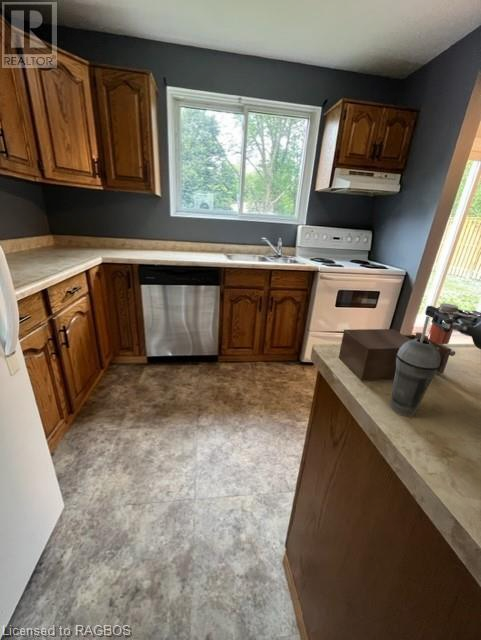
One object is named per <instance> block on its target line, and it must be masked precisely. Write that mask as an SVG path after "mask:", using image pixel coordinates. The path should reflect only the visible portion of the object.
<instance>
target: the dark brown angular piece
mask: <svg viewBox="0 0 481 640" xmlns="http://www.w3.org/2000/svg"><path fill="white" fill-rule="evenodd" d="M401 334H402V333H401ZM402 335H404V336H406V337H407V338H409V339H411V340H414V339H421V336H422V332H416V333H415V334H413V333H410V334H408V333H405V334H402ZM424 340H426V341H428V342H430V343H432V344H433V345H434V346H435V347H436V348H437V349H438V351H439V353H440V357H441V361H440V368H439V369H438V370H437V372H436V373H437V374H443V373H445V369H446V366H447V363H448V361H449V359H450V358H449V357H454V356H456V351H455V350H454V349H452V348H450V347H448V346H447V345H446V344H439V343H435V342H432V341H430V340H429V339H428V336H427V335H426V334H425V336H424Z"/></svg>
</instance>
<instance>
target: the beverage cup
mask: <svg viewBox="0 0 481 640" xmlns="http://www.w3.org/2000/svg"><path fill="white" fill-rule="evenodd" d="M429 320H430V316H427V315H425V320H424V324H423V328H422V332H421V333H422V336H421V339H414V340H410V341H408V342H406V343H404V344H403V345H402V346H401V348H400V349H399V351H398V353H397V354H396V357H397V358H396V371H395V377H394V379H393V383H392V388H391V389H392V390H391V395H390V404H389V407H390V409H391V411H393V412H394V413H396V414H397V415H400V416H403V417H407V418H408V417H409V418H410V417H413V416H415V415H416V412H417V411H418V409H419V408H420V405H421V402H422V400H423V399H424V396H425V394H426V392H427V390H428V388H429V386H430V383H431V381H432V379H433V378H434V377H435V376H436V374H437V373H438V372H437V370H438V369H439V368H440V361H441V357H440V353H439V351H438V349H437V348H436V347H435V346H434V345H433V344H432V343H430V342H428V341H426V340H424V336H425V335H426V332H427V329H428V328H427V327H428V325H429Z"/></svg>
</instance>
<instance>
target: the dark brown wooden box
mask: <svg viewBox="0 0 481 640" xmlns="http://www.w3.org/2000/svg"><path fill="white" fill-rule="evenodd" d="M410 340H411V339H409V338H407V337H406V336H404V335H402V333H401V332H399V331H397V330H395V329H394V328H374V329H373V328H371V329H370V328H367V329H366V328H365V329H364V328H363V329H362V328H361V329H359V328H358V329H343V333H342V339H341V343H340V349H339V354H338V359H339V360H340V361H341V362H342V363H343V364H344V365H345V366H346V367H347V368H348V369H349V370H350V371H351V372H352V374H354V375H355V376H356V377H357V378H358V380H360V381H362V382H363V381H385V380H387V381H389V380H394V377H395V371H396V358H397V357H396V354H397V353H398V351H399V349H400V348H401V346H402V345H403V344H404V343H406V342H408V341H410Z"/></svg>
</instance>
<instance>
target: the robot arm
mask: <svg viewBox="0 0 481 640" xmlns="http://www.w3.org/2000/svg"><path fill="white" fill-rule="evenodd" d="M458 311H459V312H451V313H450V312H447V311H444V310H441V309H438V307H436V306H433V305H427V306H426V309H425V312H424V314H425V316H428V317H429V318H432V319H431V322H430V323H431V324H432V323H433V324H434V325H436V326H437V327H438V328H440V329H441V330H442V331H444V332H450V330H451V329H453V331H456V332H459V333H460V334H461V335H463V336H467V337H470V338H471V340H472V342H473V345H474V346H475V347H476V348H477V349H479V350H481V311H477V310H471V311H469V310H467V309H464V310H463V309H460V308H458ZM446 315H447V316H446ZM448 316H449V317H448ZM457 316H458V317H457ZM456 317H457V320H456ZM455 320H456V322H455Z"/></svg>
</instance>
